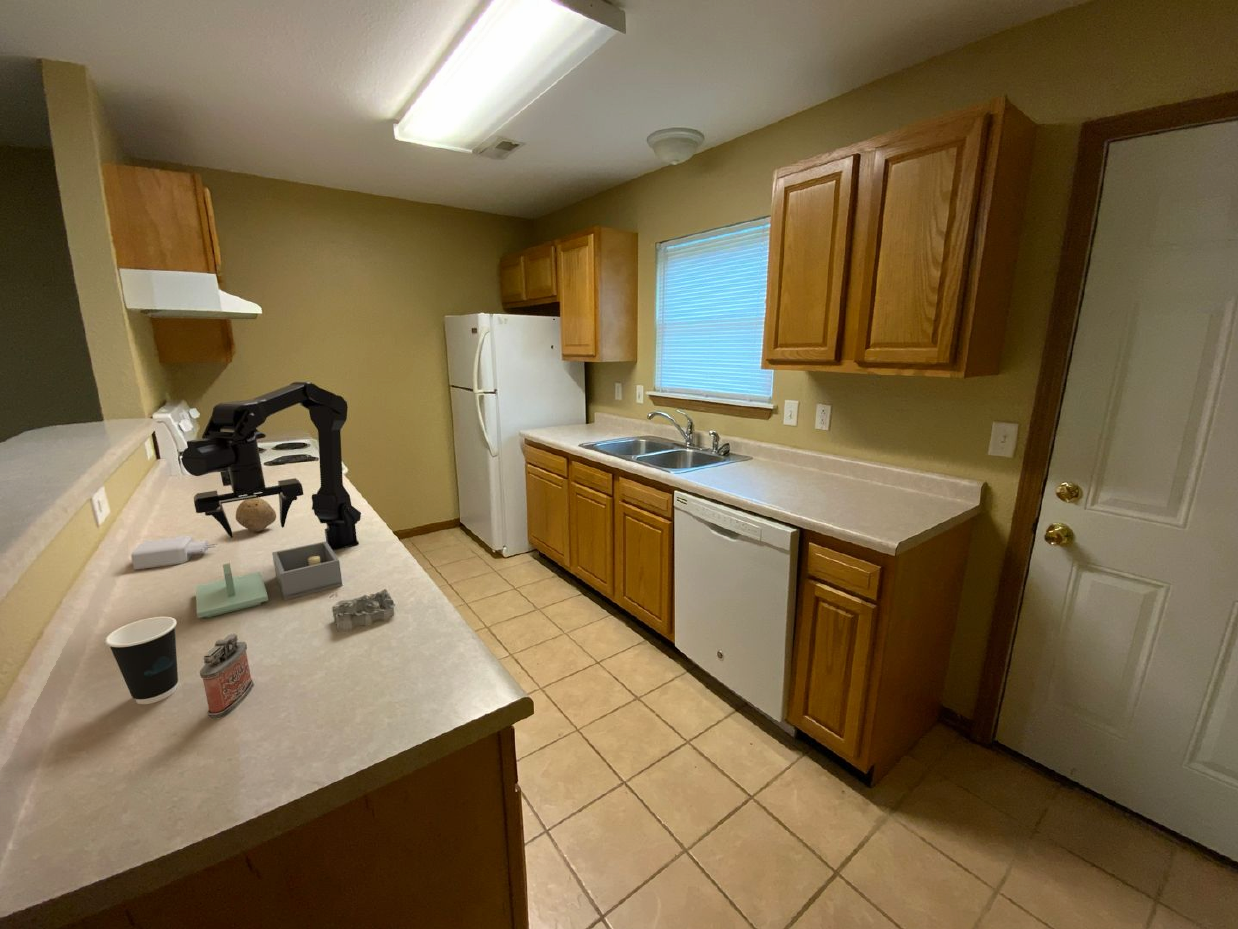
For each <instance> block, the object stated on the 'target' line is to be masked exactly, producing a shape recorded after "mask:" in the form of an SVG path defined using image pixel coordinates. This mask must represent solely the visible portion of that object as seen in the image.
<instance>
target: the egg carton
mask: <svg viewBox="0 0 1238 929" xmlns="http://www.w3.org/2000/svg"><path fill="white" fill-rule="evenodd" d="M380 606H382V607H384V608H383V609H381V607H380ZM395 607H396V604H395V603H394V600H393V599H392V597H391V595H390V593H389V592H388V590H387V589H386V588H385V589H382V590H381V591H378V592H376V593H371V594H370V595H367V594H364V595H362V596H360V597H355V598H353V599H344V600H339V601H338V602H336V603H335V604H334V605H333V606H332V607H331V610H332V615H333V616H332V618H333V621H334V622H333V623H334V624H336V628H337V631H338V632H341V631H345V632H350V631H353V630H354V628H355V627H358V626H364V627H365V626H369V625H372V624H373V622H375V621H377V620H383V621H387V620H389V619H391V617H392V616H394V615H395Z"/></svg>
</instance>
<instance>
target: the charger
mask: <svg viewBox="0 0 1238 929" xmlns="http://www.w3.org/2000/svg"><path fill="white" fill-rule="evenodd" d="M217 545H218V543H216V542H215V543H210V542H209V541H206V540H204V541H196V542H195V540H194V537H193V536H190V535H184V536H183V535H182V536H175V537H166V538H159V539H150V540H143V541H142V542H141V543H139V544H138V546H136V547H135V548H134V549H133V550H132V552H131V553H130V554H131V555H130V557H131V560H132V566H133V570H135V571H138V570H139V571H140V570H147V569H152V568H160V567H167V566H174V565H181V564H184V563H186V562H188V561H189V560H190V558H191V557H192V556H193V555H197V554H205V553H207V551H208V550H209V549H213V548H216V546H217Z"/></svg>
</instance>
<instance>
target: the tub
mask: <svg viewBox="0 0 1238 929" xmlns="http://www.w3.org/2000/svg"><path fill="white" fill-rule="evenodd" d="M271 553H272V561H273V565H274V566H273V567H274V574H275V578H276V581H277V584H278V586H279V588H280V591H281V595H282V597H283V599H284V601H287V600H290V599H294V598H297V597H298V598H299V597H302V596H306V595H310V594H314V593H318V592H322V591H325V590H326V591H327V590H331V589H333V588H338V587H341V586H343V579H342V570H341V565H340V564H341V562H340V560H339V558H338V556H337V555H336V553H335V552H334V550H332V549H331V547H330V546H329V544H328V543H327V541H326V540H325V541H322V542H317V543H316V542H315V543H311V544H307V545H302V546H297V547H292V548H286V549H282V550H278V551H273V552H271Z"/></svg>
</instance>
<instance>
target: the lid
mask: <svg viewBox="0 0 1238 929" xmlns="http://www.w3.org/2000/svg"><path fill="white" fill-rule="evenodd" d="M222 568H223V576H224V579H221V580H216V581H212V582H207V583H204V584H198V585H196V586H195V600H196V601H195V602H196V604H195V605H196V616H197V619H200V618H204V617H206V618H212V617H216V616H220V615H224V614H228V613H232V612H237V611H239V610H240V611H241V610H243V609H248V608H251V607H255V606H259V605H260V606H261V605H262V603H263V602H267V601H269V597H268V593H267V589H266V585H265V583H264V579H263V576H262V573H261V571H258V572H257V571H256V572H252V573H249V574H248V573H247V574H244V575H240V576H235V577H233V573H232V568H231V563H224V564H222Z"/></svg>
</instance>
